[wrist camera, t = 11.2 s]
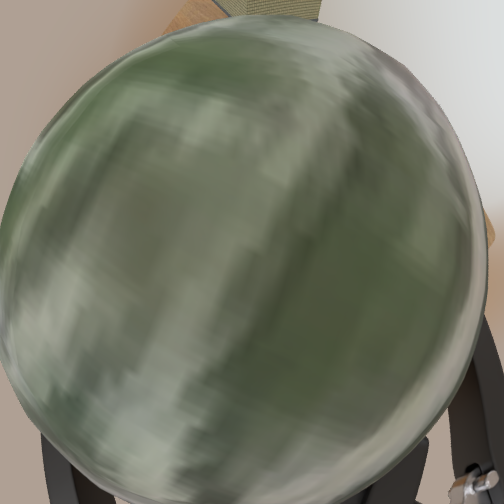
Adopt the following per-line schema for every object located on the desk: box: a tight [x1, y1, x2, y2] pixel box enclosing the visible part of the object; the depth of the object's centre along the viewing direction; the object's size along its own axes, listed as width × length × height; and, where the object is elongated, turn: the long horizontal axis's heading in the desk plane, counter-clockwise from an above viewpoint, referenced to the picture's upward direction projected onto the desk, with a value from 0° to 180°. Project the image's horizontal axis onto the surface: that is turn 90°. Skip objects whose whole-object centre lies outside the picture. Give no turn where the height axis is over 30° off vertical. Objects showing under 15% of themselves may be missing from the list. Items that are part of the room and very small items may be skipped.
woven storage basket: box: [212, 0, 322, 22], centre depth 41 cm, size 18×14×33 cm
